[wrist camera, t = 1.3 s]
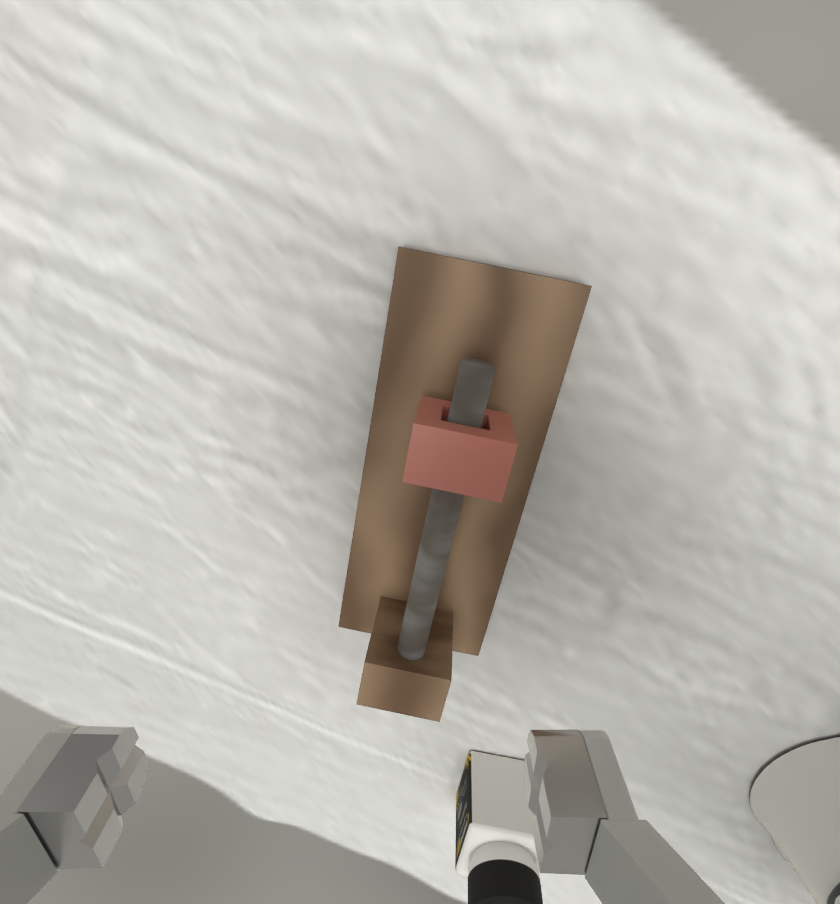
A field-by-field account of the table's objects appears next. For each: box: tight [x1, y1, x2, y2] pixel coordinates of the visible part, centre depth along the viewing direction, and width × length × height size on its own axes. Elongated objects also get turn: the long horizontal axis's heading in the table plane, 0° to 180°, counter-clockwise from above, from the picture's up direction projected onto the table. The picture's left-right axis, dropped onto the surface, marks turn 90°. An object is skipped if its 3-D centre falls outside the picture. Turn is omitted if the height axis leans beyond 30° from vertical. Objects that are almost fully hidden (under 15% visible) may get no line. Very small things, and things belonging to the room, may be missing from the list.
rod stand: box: [339, 247, 592, 722], centre depth 33 cm, size 12×30×9 cm, turn 169°
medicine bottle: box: [455, 751, 543, 904], centre depth 44 cm, size 7×7×12 cm
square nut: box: [402, 395, 518, 503], centre depth 29 cm, size 6×4×6 cm, turn 79°
